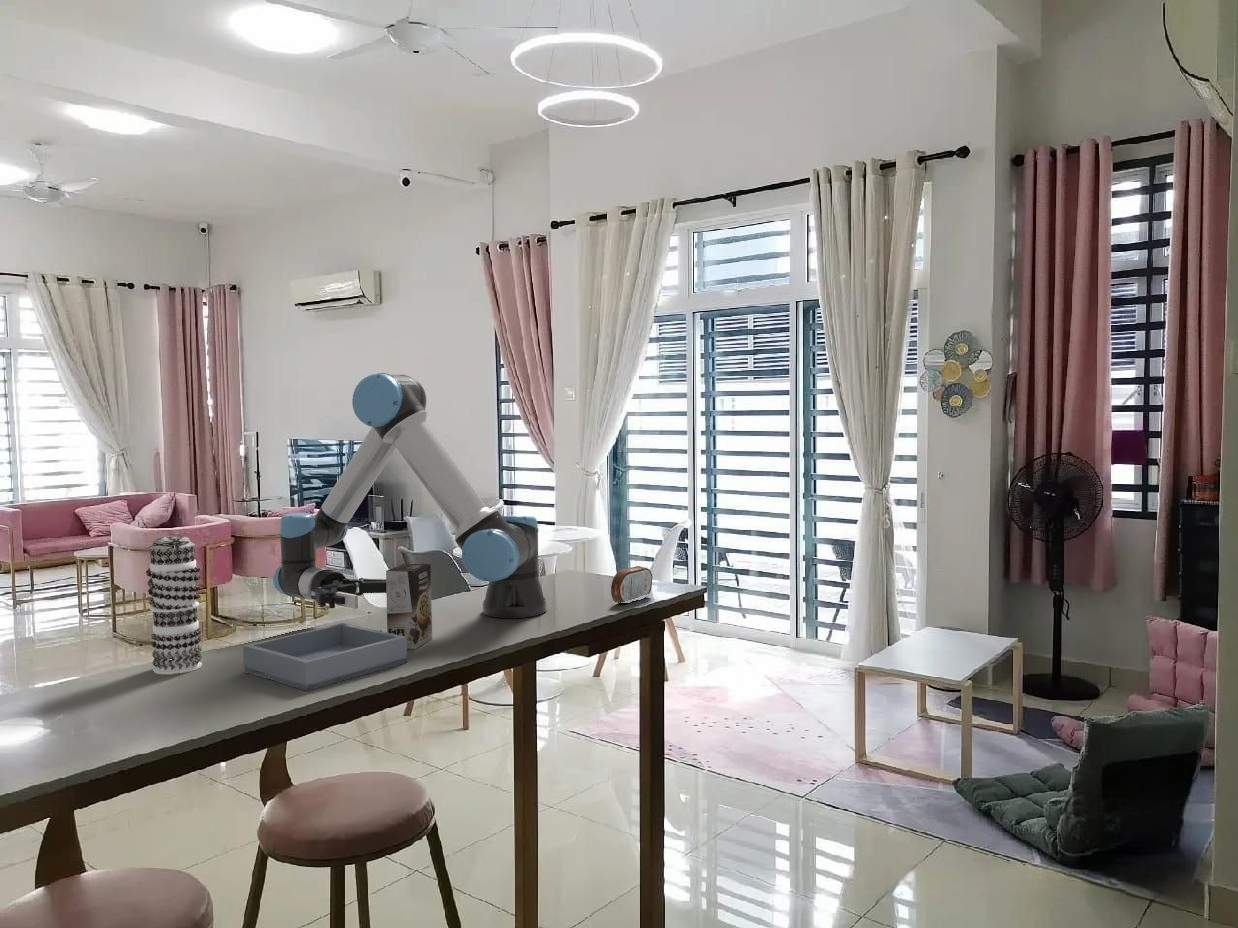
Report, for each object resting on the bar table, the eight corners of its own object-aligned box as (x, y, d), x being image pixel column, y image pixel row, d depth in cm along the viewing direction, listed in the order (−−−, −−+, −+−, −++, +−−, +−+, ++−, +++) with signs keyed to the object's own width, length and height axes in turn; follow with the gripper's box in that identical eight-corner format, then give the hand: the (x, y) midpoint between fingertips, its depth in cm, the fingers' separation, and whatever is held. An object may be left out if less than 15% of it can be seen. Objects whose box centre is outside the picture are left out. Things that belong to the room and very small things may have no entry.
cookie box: (416, 649, 190) (414, 570, 189) (386, 648, 191) (384, 570, 190) (433, 638, 199) (431, 563, 198) (405, 637, 200) (403, 562, 199)
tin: (644, 595, 241) (644, 563, 240) (654, 596, 239) (654, 564, 238) (609, 606, 229) (609, 571, 228) (620, 607, 227) (619, 573, 226)
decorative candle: (179, 676, 173) (174, 542, 171) (139, 673, 175) (133, 540, 174) (214, 663, 181) (209, 535, 180) (175, 660, 184) (170, 533, 182)
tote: (343, 646, 192) (342, 622, 192) (407, 662, 180) (406, 636, 180) (244, 671, 175) (243, 645, 175) (306, 690, 163) (305, 662, 163)
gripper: (369, 592, 222) (429, 603, 209) (274, 611, 203) (333, 625, 190) (368, 561, 222) (428, 570, 209) (273, 577, 202) (332, 588, 189)
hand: (383, 596), depth 199 cm, fingers open, 13 cm apart
